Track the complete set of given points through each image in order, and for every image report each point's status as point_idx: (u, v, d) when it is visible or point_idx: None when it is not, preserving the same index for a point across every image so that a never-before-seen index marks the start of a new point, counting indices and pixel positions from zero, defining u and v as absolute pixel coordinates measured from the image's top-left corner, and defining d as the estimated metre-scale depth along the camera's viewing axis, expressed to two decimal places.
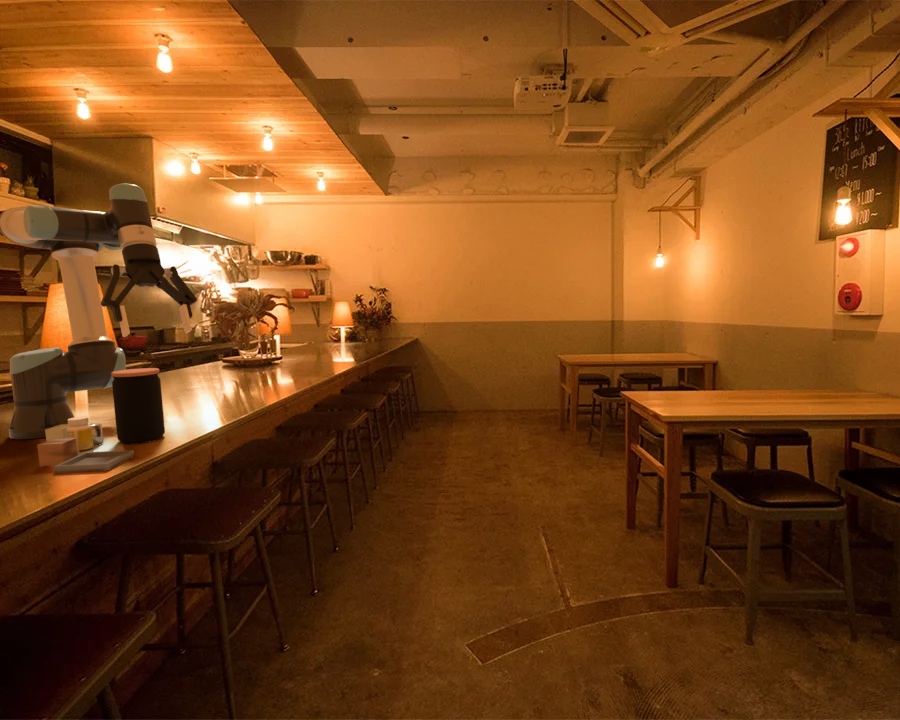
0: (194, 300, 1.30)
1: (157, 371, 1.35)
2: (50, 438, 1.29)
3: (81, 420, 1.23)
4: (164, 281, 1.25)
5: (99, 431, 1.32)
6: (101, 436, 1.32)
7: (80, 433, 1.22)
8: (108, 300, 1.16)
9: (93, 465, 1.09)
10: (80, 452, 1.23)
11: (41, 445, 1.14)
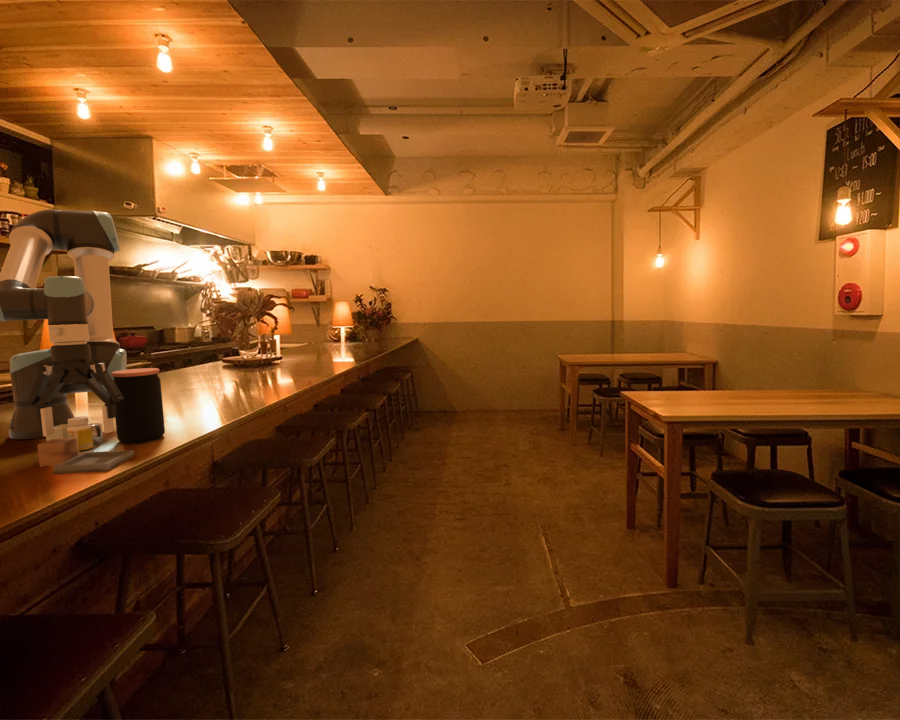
0: (115, 400, 1.23)
1: (157, 371, 1.35)
2: (50, 438, 1.29)
3: (81, 420, 1.23)
4: (83, 382, 1.21)
5: (99, 431, 1.32)
6: (101, 436, 1.32)
7: (80, 433, 1.22)
8: (30, 403, 1.21)
9: (93, 465, 1.09)
10: (80, 452, 1.23)
11: (41, 445, 1.14)
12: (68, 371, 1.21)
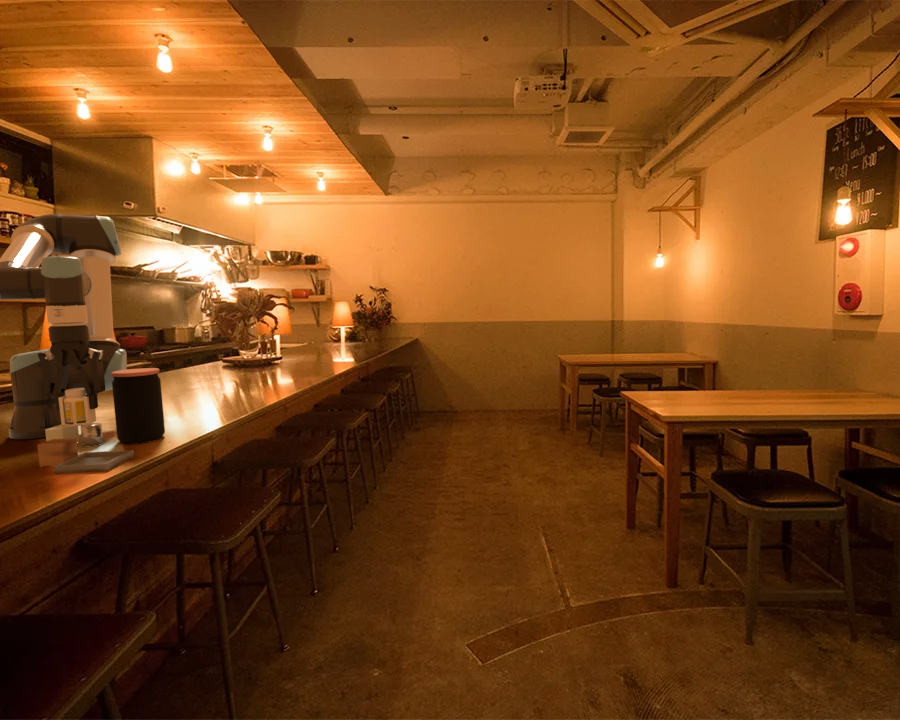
0: (95, 391, 1.23)
1: (157, 371, 1.35)
2: (50, 438, 1.29)
3: (79, 391, 1.22)
4: (76, 366, 1.21)
5: (99, 431, 1.32)
6: (101, 436, 1.32)
7: (77, 404, 1.22)
8: (48, 391, 1.22)
9: (93, 465, 1.09)
10: (78, 423, 1.22)
11: (41, 445, 1.14)
12: (66, 350, 1.21)
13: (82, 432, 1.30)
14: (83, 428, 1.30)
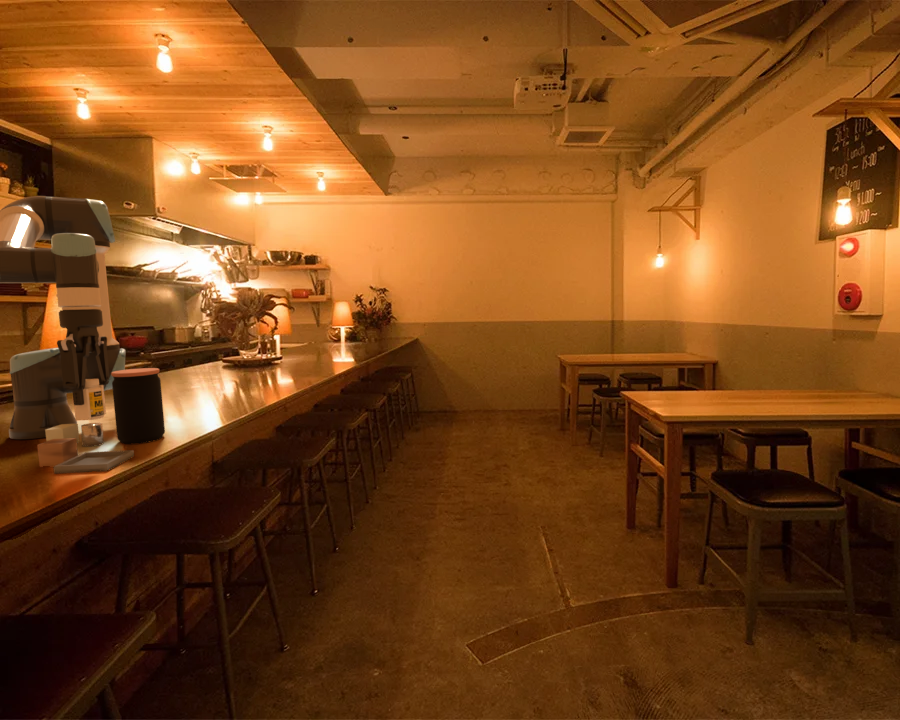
0: None
1: (157, 371, 1.35)
2: (50, 438, 1.29)
3: None
4: None
5: (99, 431, 1.31)
6: (101, 436, 1.32)
7: None
8: None
9: (93, 465, 1.09)
10: None
11: (41, 445, 1.14)
12: None
13: (82, 431, 1.30)
14: (83, 427, 1.30)
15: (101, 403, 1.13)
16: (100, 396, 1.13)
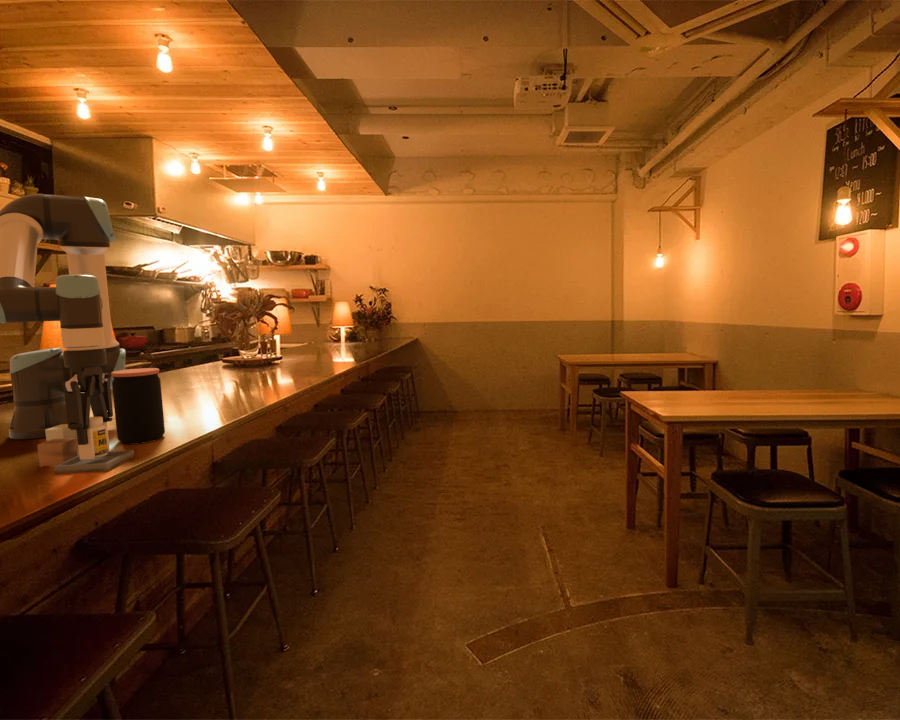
0: None
1: (157, 371, 1.35)
2: (50, 438, 1.29)
3: None
4: None
5: None
6: None
7: None
8: None
9: (93, 465, 1.09)
10: None
11: (41, 445, 1.14)
12: None
13: None
14: None
15: (105, 441, 1.14)
16: (104, 434, 1.14)
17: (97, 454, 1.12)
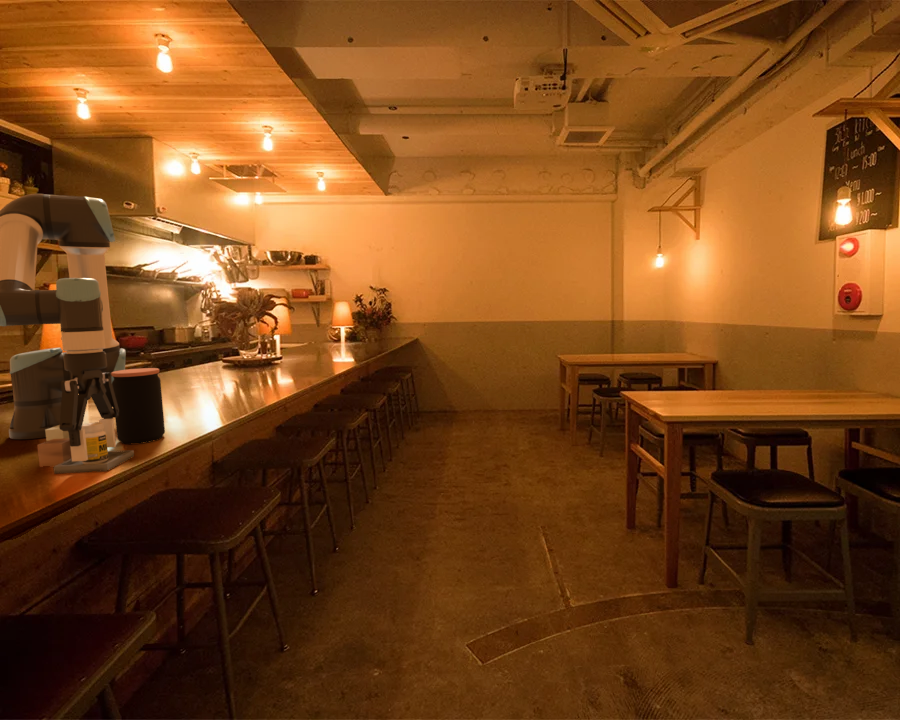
0: None
1: (157, 371, 1.35)
2: (50, 438, 1.29)
3: None
4: None
5: None
6: None
7: None
8: None
9: (93, 465, 1.09)
10: None
11: (41, 445, 1.14)
12: None
13: None
14: None
15: (105, 447, 1.14)
16: (104, 439, 1.14)
17: (98, 460, 1.13)
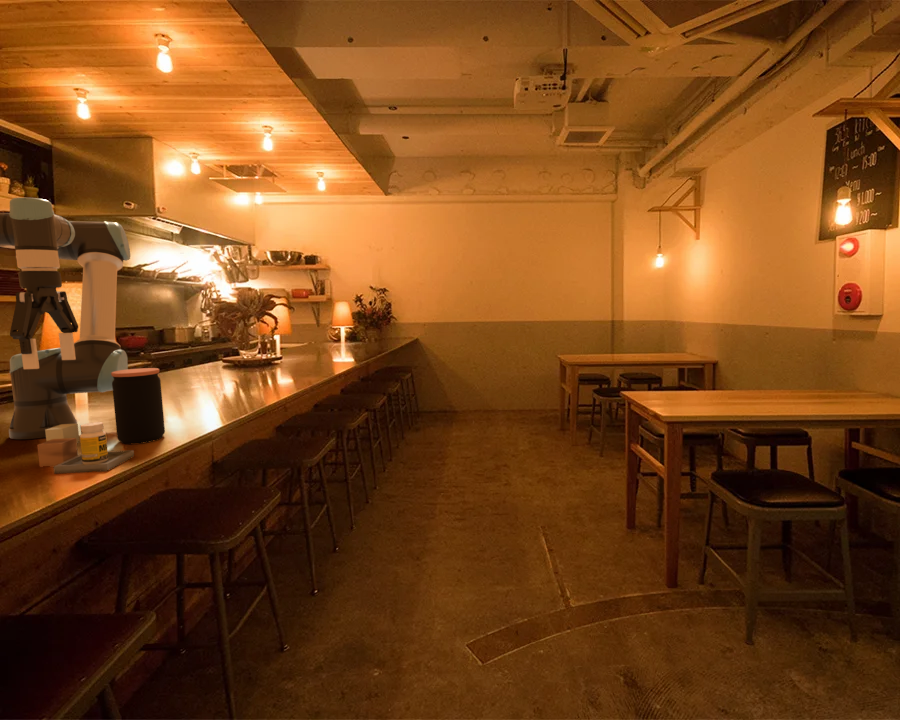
0: None
1: (157, 371, 1.35)
2: (50, 438, 1.29)
3: (81, 427, 1.12)
4: None
5: None
6: None
7: (80, 440, 1.12)
8: None
9: (93, 465, 1.09)
10: (82, 460, 1.13)
11: (41, 445, 1.14)
12: None
13: None
14: (80, 427, 1.30)
15: (105, 447, 1.14)
16: (104, 439, 1.14)
17: (98, 460, 1.13)
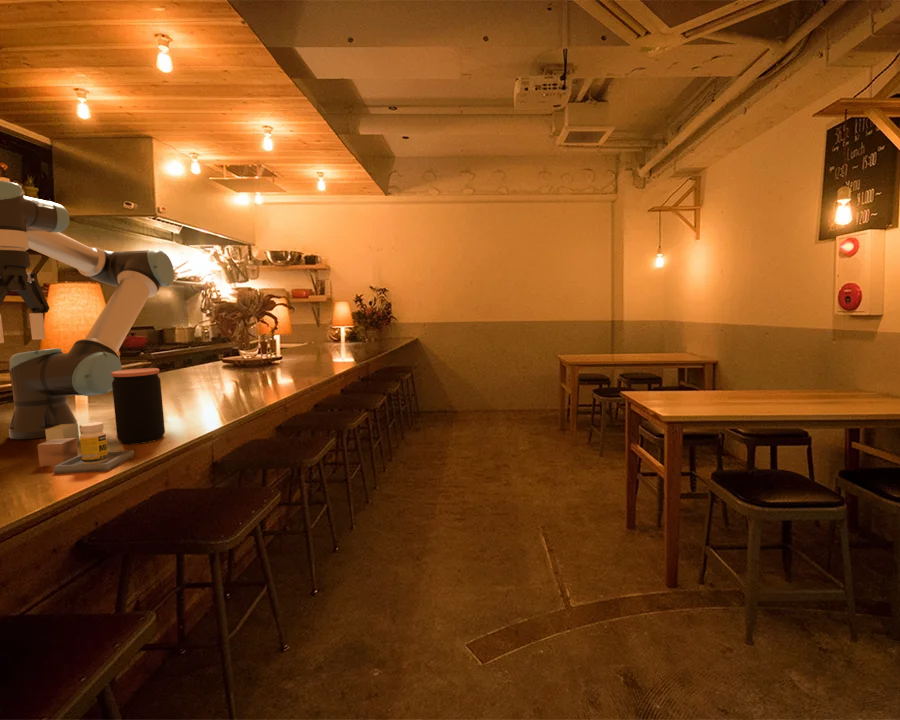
0: None
1: (157, 371, 1.35)
2: (50, 438, 1.29)
3: (81, 427, 1.12)
4: None
5: None
6: None
7: (80, 440, 1.12)
8: None
9: (93, 465, 1.09)
10: (82, 460, 1.13)
11: (41, 445, 1.14)
12: None
13: None
14: None
15: (105, 447, 1.14)
16: (104, 439, 1.14)
17: (98, 460, 1.13)
